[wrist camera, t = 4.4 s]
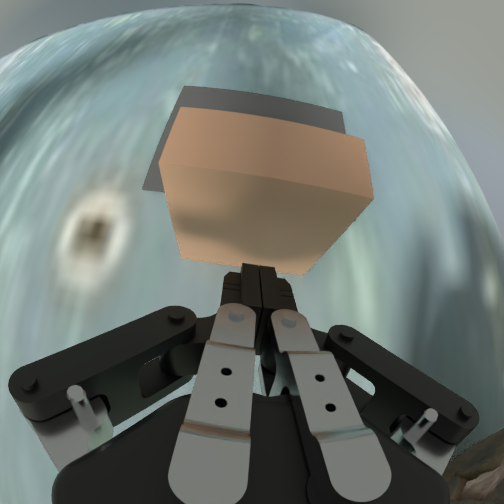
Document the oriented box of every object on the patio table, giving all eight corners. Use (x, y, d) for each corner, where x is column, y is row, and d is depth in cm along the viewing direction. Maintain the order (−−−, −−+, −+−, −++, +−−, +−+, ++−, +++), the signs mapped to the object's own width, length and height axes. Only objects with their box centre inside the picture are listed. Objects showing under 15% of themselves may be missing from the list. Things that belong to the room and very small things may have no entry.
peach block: (181, 258, 23) (158, 163, 12) (191, 214, 24) (181, 105, 13) (303, 275, 24) (373, 198, 13) (304, 231, 25) (363, 138, 14)
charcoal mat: (142, 189, 25) (142, 187, 24) (184, 87, 31) (184, 85, 31) (354, 221, 26) (355, 220, 26) (341, 113, 32) (341, 112, 32)
